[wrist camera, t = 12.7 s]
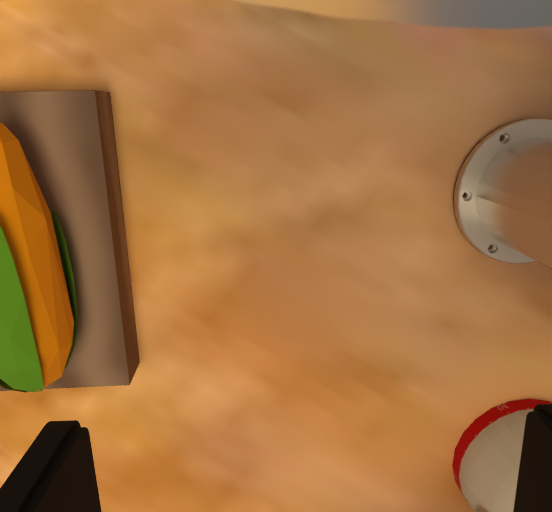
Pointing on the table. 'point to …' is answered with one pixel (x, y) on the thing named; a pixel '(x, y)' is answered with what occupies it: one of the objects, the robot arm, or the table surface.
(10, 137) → the corn
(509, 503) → the kitchen timer
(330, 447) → the table surface
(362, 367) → the table surface
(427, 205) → the table surface
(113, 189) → the board
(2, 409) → the table surface
